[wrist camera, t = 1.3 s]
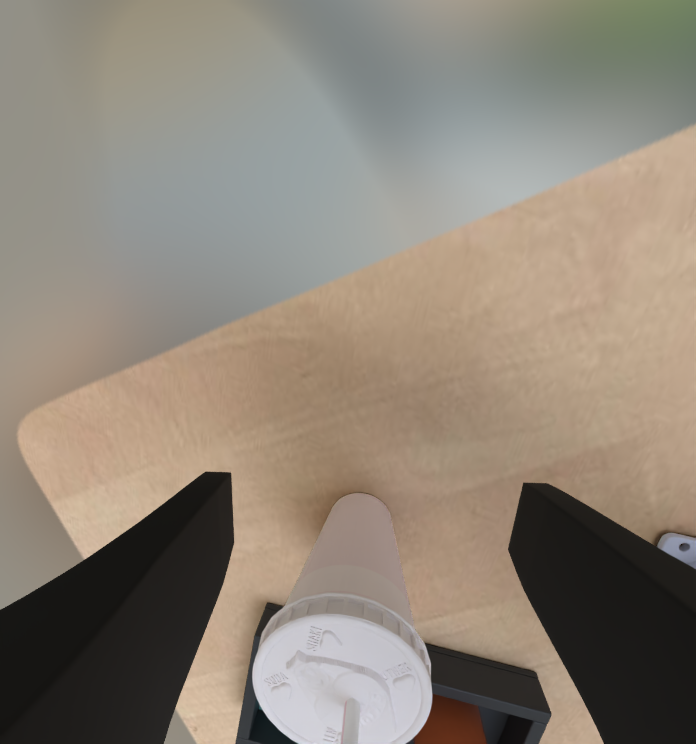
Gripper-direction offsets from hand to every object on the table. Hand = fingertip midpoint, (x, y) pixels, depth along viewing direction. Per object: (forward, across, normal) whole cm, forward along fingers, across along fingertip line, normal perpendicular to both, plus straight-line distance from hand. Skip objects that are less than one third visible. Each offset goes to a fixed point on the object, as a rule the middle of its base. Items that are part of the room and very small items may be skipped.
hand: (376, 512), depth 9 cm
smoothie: (+11, -1, +9) cm, 14 cm away
